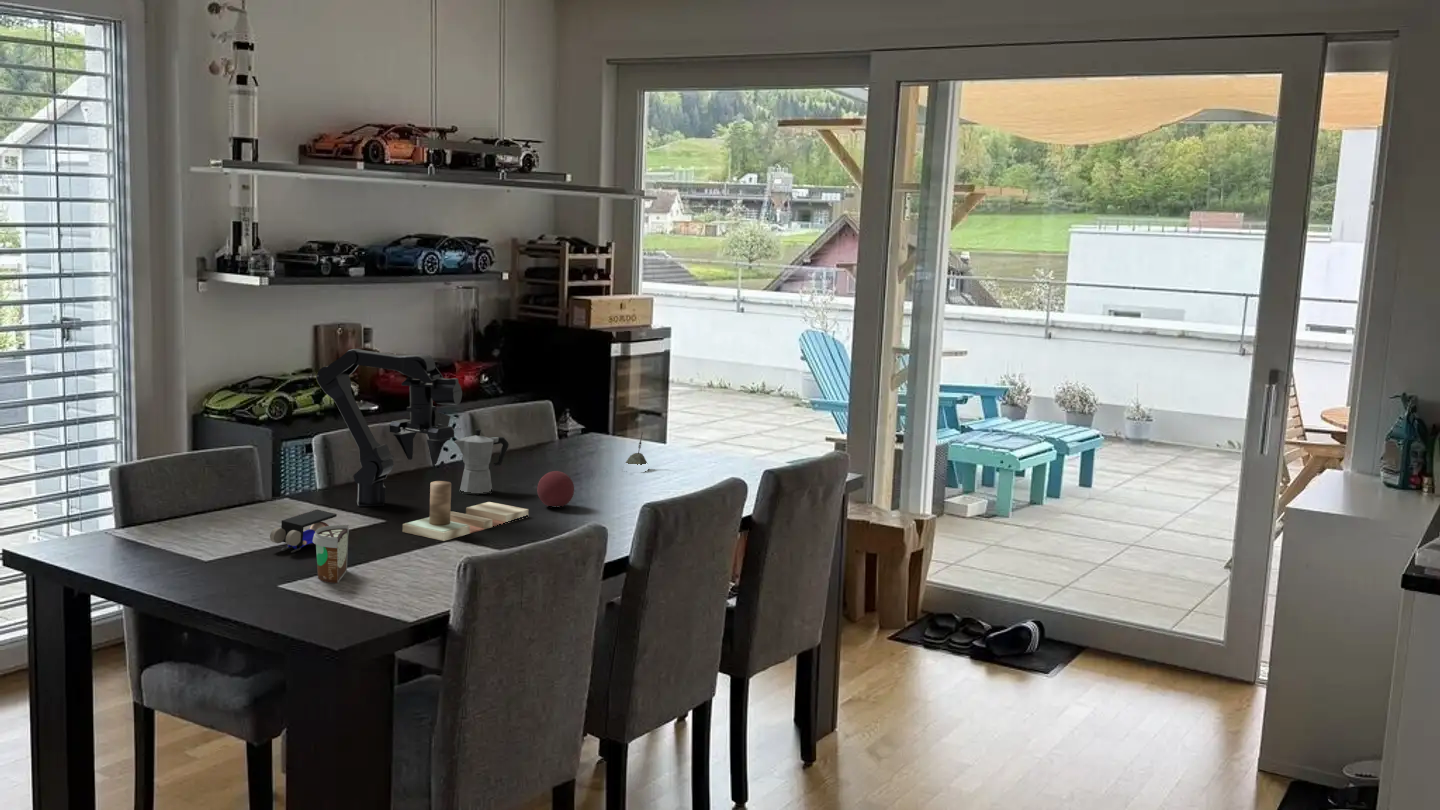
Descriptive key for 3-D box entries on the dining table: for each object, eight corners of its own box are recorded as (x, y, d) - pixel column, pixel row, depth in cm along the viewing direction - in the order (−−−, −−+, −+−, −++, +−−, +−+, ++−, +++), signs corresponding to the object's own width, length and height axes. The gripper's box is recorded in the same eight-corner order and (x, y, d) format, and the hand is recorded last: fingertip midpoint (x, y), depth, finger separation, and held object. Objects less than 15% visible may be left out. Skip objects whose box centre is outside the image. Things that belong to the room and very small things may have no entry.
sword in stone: (640, 474, 399) (642, 437, 398) (618, 471, 402) (620, 434, 401) (654, 469, 409) (656, 433, 407) (632, 466, 411) (634, 430, 410)
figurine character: (293, 562, 286) (339, 541, 299) (290, 530, 284) (337, 510, 297) (270, 557, 288) (317, 537, 302) (267, 525, 286) (314, 506, 300)
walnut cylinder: (430, 525, 310) (431, 485, 309) (428, 520, 315) (429, 481, 314) (451, 525, 312) (452, 485, 311) (448, 520, 317) (449, 480, 315)
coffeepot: (456, 496, 354) (457, 432, 351) (449, 488, 362) (451, 426, 360) (510, 494, 360) (513, 431, 357) (502, 487, 368) (505, 426, 366)
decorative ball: (558, 501, 354) (559, 466, 353) (580, 509, 347) (582, 472, 346) (529, 505, 347) (530, 469, 346) (551, 513, 340) (552, 476, 339)
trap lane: (488, 509, 341) (489, 501, 340) (528, 516, 335) (528, 508, 334) (402, 532, 312) (402, 523, 311) (443, 540, 306) (444, 532, 305)
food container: (319, 568, 277) (319, 523, 276) (348, 569, 278) (349, 524, 276) (305, 584, 265) (306, 537, 264) (336, 585, 266) (336, 538, 264)
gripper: (469, 403, 333) (470, 461, 336) (419, 395, 344) (420, 452, 346) (437, 408, 324) (438, 468, 327) (387, 400, 335) (388, 459, 337)
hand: (422, 461), depth 334 cm, fingers open, 9 cm apart
